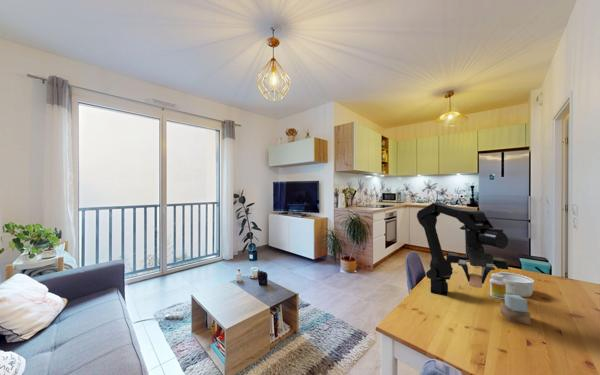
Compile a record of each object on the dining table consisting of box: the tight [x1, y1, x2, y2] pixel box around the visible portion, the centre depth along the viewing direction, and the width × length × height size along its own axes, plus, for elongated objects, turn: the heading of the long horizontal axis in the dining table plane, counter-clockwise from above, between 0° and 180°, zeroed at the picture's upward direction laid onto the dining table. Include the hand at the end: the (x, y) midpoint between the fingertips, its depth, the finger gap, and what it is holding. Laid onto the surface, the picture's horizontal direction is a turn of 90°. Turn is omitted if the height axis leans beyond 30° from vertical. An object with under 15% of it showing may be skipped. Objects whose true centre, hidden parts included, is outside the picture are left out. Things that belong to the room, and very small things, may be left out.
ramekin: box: [495, 272, 535, 298], centre depth 105 cm, size 13×13×7 cm
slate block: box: [504, 293, 528, 312], centre depth 83 cm, size 4×4×4 cm
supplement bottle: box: [489, 273, 507, 300], centre depth 100 cm, size 5×5×10 cm
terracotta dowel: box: [468, 273, 483, 289], centre depth 87 cm, size 4×4×4 cm
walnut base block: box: [500, 302, 532, 325], centre depth 83 cm, size 6×6×4 cm
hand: (475, 282), depth 87 cm, fingers closed on terracotta dowel, 4 cm apart
